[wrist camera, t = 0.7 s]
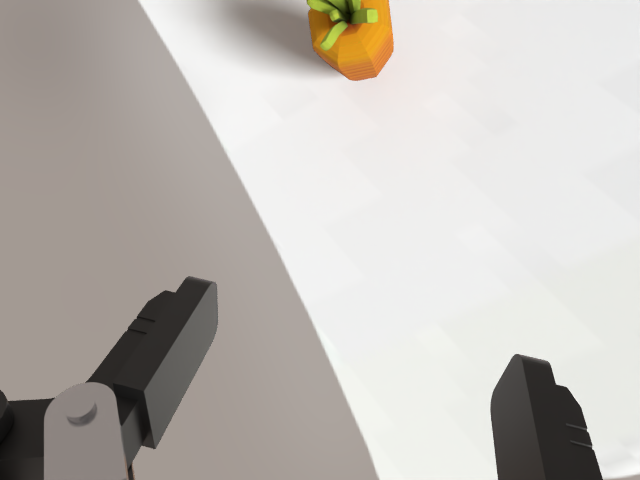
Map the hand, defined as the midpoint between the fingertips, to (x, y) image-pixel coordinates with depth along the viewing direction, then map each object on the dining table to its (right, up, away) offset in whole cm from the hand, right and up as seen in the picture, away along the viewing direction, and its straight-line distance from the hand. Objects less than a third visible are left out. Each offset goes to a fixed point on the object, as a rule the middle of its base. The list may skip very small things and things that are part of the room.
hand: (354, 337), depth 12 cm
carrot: (+3, +16, +23) cm, 29 cm away
